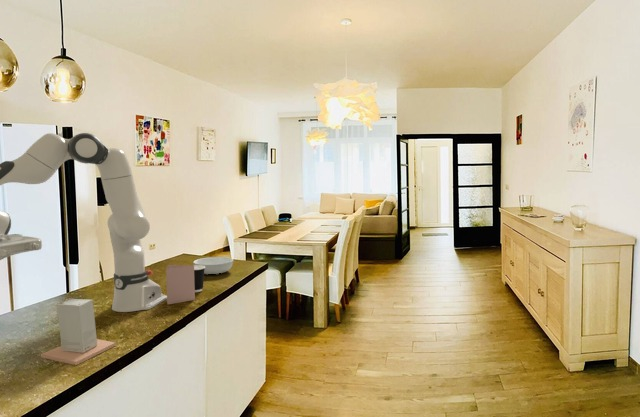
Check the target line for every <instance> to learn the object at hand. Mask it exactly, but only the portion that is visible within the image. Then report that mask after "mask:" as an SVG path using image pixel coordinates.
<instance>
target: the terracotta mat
mask: <svg viewBox="0 0 640 417" xmlns="http://www.w3.org/2000/svg"><path fill="white" fill-rule="evenodd" d="M116 346H117V344H116V342H115V341H109V340H104V339H99V338H97V346H96V347H94V348H92V349H90V350H87V351H86V352H84V353H80V352H71V351H62V346H61V345H60V346H57V347H55V348H53V349H51V350H47V351H45V352H43V353H41V354H40V356H41V358H42V359H46V360H51V361H56V362H59V363H65V364H70V365H75V366H78V365H79V364H81V363H84V362H85V361H88V360H90V359H92V358H94V357H96V356H97V355H99V354H101V353H104V352H106V351H108V350H110V349H113V348H114V347H116Z"/></svg>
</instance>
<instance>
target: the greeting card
mask: <svg viewBox="0 0 640 417" xmlns="http://www.w3.org/2000/svg"><path fill="white" fill-rule="evenodd" d="M166 266H167V267H166V269H165V271H166V272H165V273H166V275H165V276H166V277H165V278H166V296H167V299H166V301H167V302H166V304H167V305H172V304H179V303H183V302H189V301H190V302H191V301H194V300H196V295H195V293H196V292H195V284H194V264H191V265H190V264H189V265H188V264H186V265H184V264H183V265H181V264H180V265H177V264H176V265H173V264H167V265H166Z"/></svg>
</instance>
